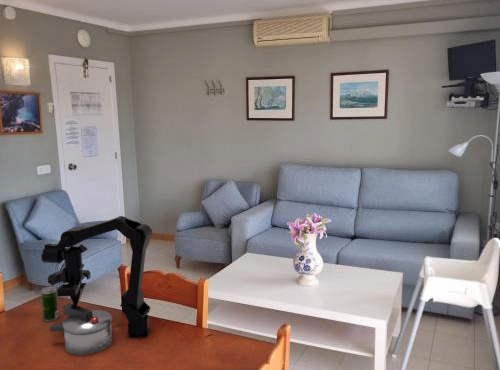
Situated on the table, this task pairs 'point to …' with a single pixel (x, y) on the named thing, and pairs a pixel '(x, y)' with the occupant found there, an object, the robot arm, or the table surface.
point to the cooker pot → (85, 340)
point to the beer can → (49, 303)
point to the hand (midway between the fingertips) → (75, 305)
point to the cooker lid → (84, 320)
